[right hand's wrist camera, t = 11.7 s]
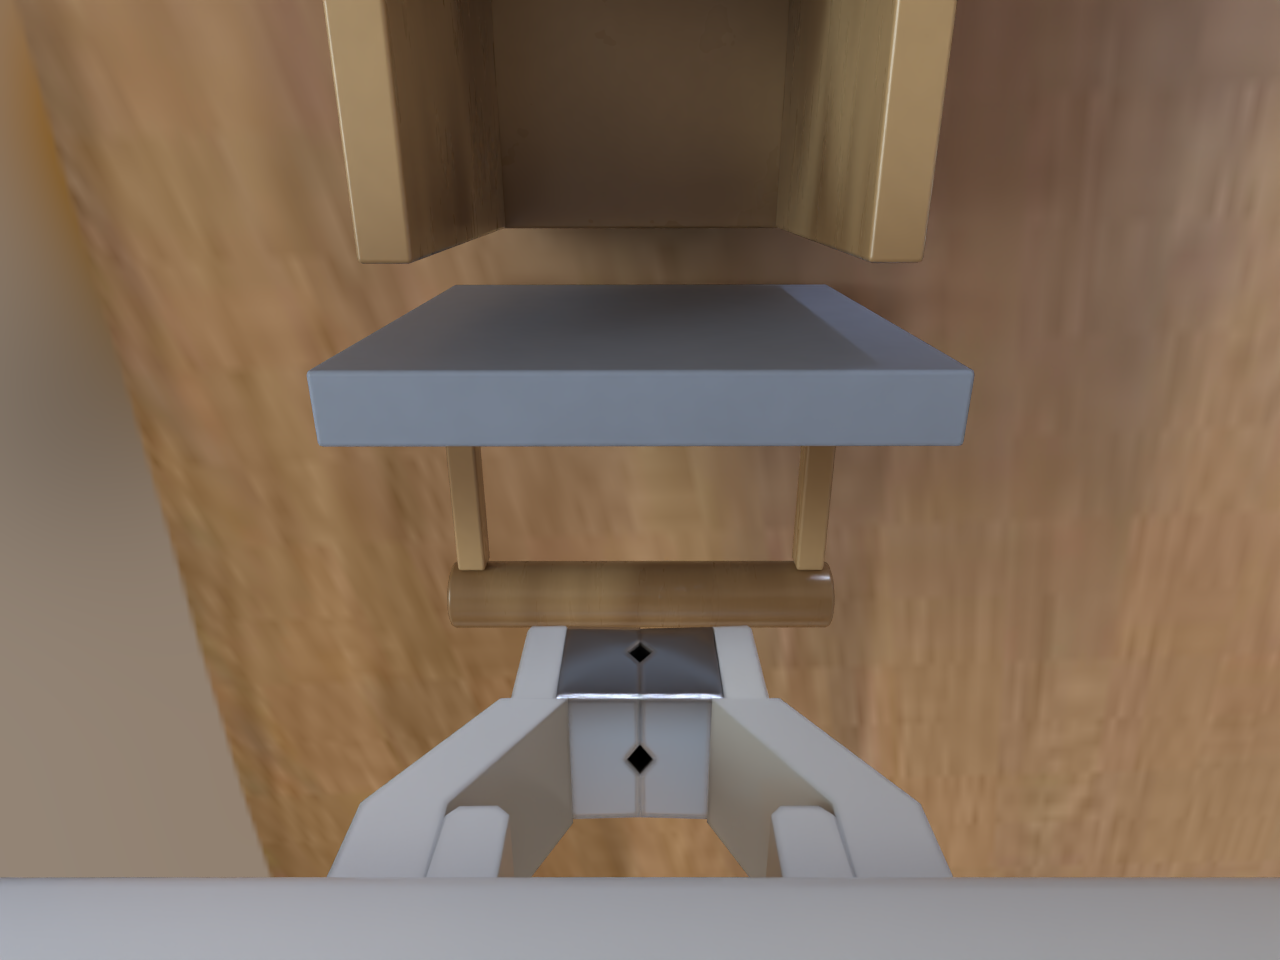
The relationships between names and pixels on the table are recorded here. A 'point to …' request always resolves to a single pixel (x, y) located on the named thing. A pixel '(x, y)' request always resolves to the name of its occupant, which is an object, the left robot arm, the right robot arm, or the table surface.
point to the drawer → (640, 314)
